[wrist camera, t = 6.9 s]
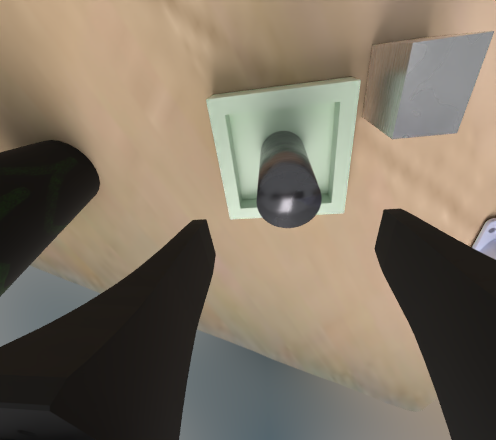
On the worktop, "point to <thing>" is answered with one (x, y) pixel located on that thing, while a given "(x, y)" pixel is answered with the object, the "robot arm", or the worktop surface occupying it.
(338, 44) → the worktop surface
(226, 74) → the worktop surface
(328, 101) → the green tray
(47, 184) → the cup
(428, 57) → the block
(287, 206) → the steel pin
